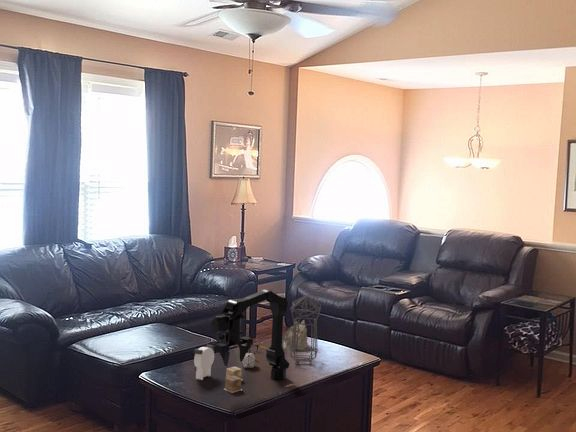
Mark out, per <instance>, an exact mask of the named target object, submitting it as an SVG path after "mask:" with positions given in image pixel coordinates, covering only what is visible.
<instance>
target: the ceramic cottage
mask: <svg viewBox="0 0 576 432" xmlns="http://www.w3.org/2000/svg"><path fill="white" fill-rule="evenodd" d="M305 320H306V319H303V320H302V321H301V322H299V332H298V322H297V321H296V323H297V324H296V342H295V349H296V343H297V332H298V344H297V349H307V348H308V347H309V344H308V335H307V333H308V328H307V325H301V324H306V323H305ZM293 326H294V325H293ZM293 326H292V325H291V326H290V327H289V328H288V330H287V331H286V332H285V333H284V335H285V337H284V339H285V340H284V341H283V342H282V347H283V349H285V350H288V351H291V343H292V335H293ZM294 330H295V326H294ZM293 339H294V335H293ZM294 341H295V339H294ZM292 348H293V344H292ZM293 349H294V348H293Z"/></svg>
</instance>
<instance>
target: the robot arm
mask: <svg viewBox="0 0 576 432" xmlns="http://www.w3.org/2000/svg"><path fill="white" fill-rule="evenodd" d="M265 301H266V302H268V303H269V309H270V311H271V314H272V323H271V324H272V325H271V327H272V328H271V341H270V342H271V343H270V344H271V345H270V346H269V348H268V349H265V350H266V354H265V358H266V360H267V362H268V364H269V366H272V367H271V370H270V380H272V381H282V380H284V379H285V380H288V379H289V378H287V376H286V375H287V372H286V371H287V369H289V367H290V363H289V362H288V360H287V359H286V354H285V350H284V347H283V333H284V331H283V330H284V329H283V328H284V315H285V314H286V313H287V310H288V306H289V300H288V299H287V298H286V297H284V296H280V295H278V294H276V293H275V292H274V291H272V290H270V289H267V288H265V289H261V290H260V291H258V292H256V293H253V294H251V295H247V296H246V297H243V298H232V299H229V300H227V302H226V304H225V306H224V307H223V310H222V312H221V313H220V315H217V316H214V317H213V319H212V321H211V323H210V326H211V330H212V332H213V333H216V334H215V341H216V342H218V343H216V344H214V345H213V346H214V352H216V353H218V354H220V356H221V359H222V362H223V364H224V366H225V367H227V366H228V364H229V359H230V353H231V352H230V349H231V348H234V347H238V348H239V361H240V362H241V363H242V361H243V359H244V357H245V355H246V353H247V351H248V352H249V348H250V347H251V346H254V340H253V338H252V337H248V336H242V337H241V335H243V333H244V332H243V330H241V329H242V328H241V325H242V324H241V322H242V319H246V316H245V315H244V314H243V313H244V312H245V311H246V310H247V309H249V308H250V307H252V306H254V305H257V304H260V303H262V302H265ZM222 332H224V334H222ZM223 342H224V343H223ZM251 348H252V347H251ZM251 348H250V349H251Z"/></svg>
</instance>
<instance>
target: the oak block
mask: <svg viewBox="0 0 576 432" xmlns="http://www.w3.org/2000/svg"><path fill="white" fill-rule="evenodd" d="M242 370H243V369H242V368H240V367H237V366H231V367H228V368H226V372H225V374H226V376H225V378H227V377H231V376H237V377H239V378H241V379H242Z"/></svg>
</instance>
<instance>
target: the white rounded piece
mask: <svg viewBox="0 0 576 432" xmlns="http://www.w3.org/2000/svg"><path fill="white" fill-rule="evenodd" d="M214 346H215V345H212V344H206V346H202V347H199V348H194V350H193V352H194V356H193V357H194V358H193V359H194V360H193V364H194V371H195V380H201V381H203V380H204V378H206V377H211V374H212V373H211V370H212V365H213V363H214V360H215V351H214Z"/></svg>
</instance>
